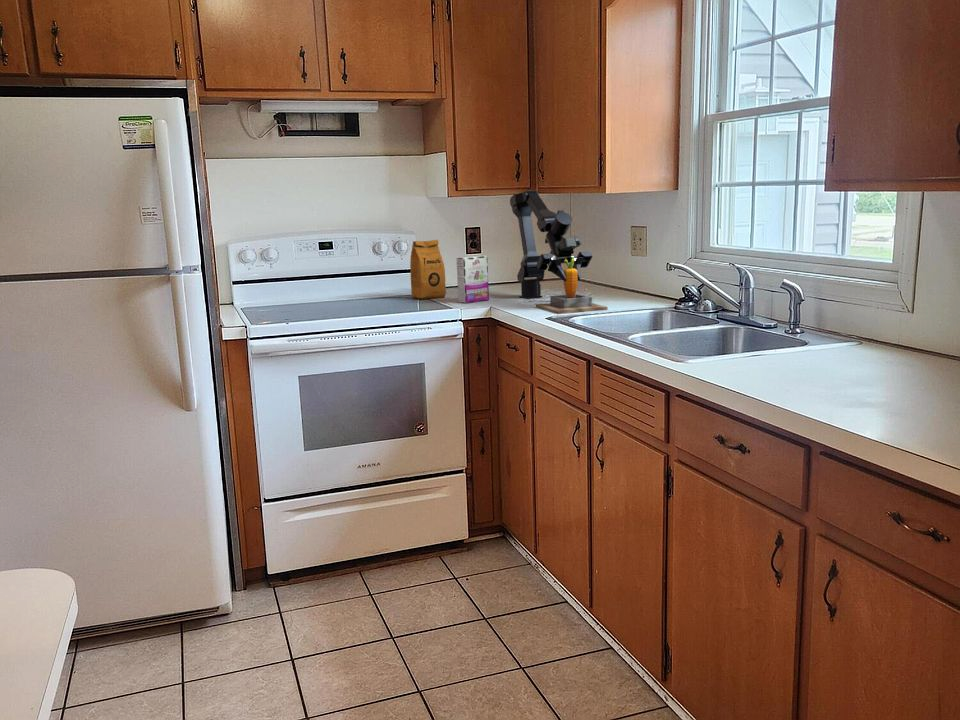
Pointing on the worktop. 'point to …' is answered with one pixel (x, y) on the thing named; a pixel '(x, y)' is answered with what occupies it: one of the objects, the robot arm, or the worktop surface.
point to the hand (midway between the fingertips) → (572, 279)
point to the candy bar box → (472, 279)
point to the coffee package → (427, 270)
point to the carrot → (570, 279)
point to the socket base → (570, 304)
